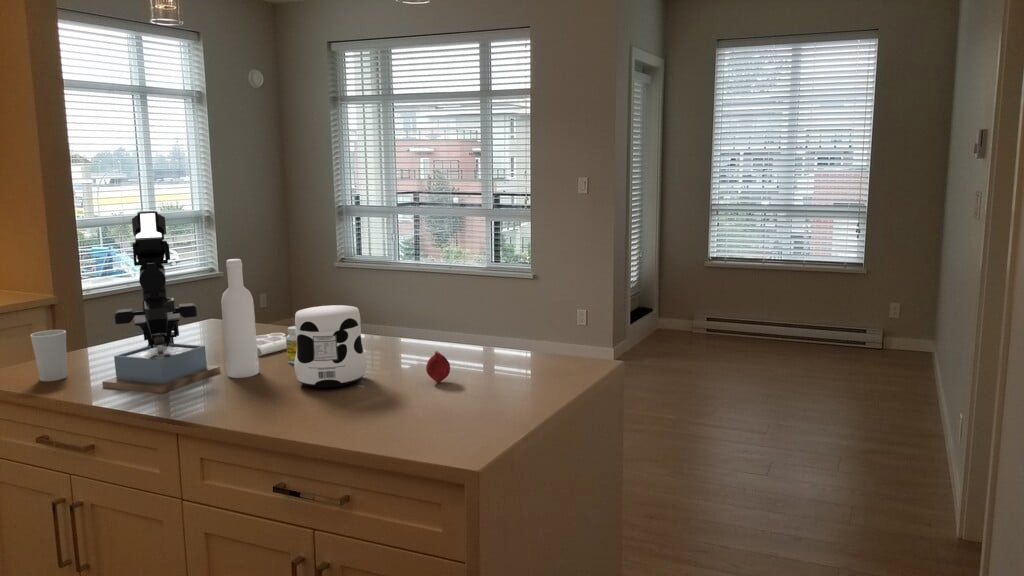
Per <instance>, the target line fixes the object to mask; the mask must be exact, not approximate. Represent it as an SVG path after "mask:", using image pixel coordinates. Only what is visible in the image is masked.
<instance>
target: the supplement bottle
mask: <svg viewBox="0 0 1024 576" xmlns="http://www.w3.org/2000/svg"><path fill="white" fill-rule="evenodd" d="M287 333H288V335H287V336H285V337H286V345H287V349H286V353H287V354H286V355H287V356H286V357H287V362H288V363H289V364H293V365H294V362H295V356H296V351H297V340H296V325H292V326H289V327H287Z"/></svg>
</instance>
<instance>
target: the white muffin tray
mask: <svg viewBox="0 0 1024 576" xmlns="http://www.w3.org/2000/svg"><path fill="white" fill-rule="evenodd" d="M286 337H287V336H286V333H284V332H271V333H269V334H260V335H256V340H257V352H258V357H263V356H264V355H269V354H273V353H277V352H280V351H285V350H287V345H286Z"/></svg>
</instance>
